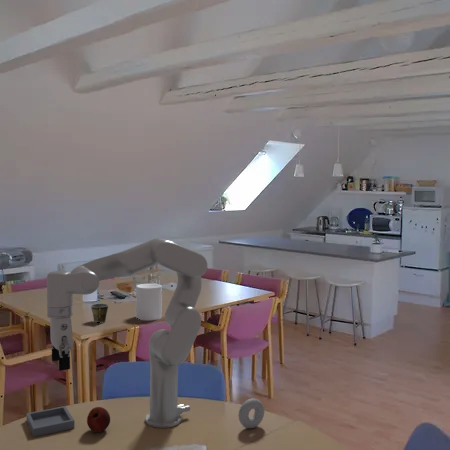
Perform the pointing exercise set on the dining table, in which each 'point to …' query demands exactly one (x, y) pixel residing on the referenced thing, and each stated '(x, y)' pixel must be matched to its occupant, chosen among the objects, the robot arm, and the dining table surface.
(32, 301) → the dining table surface
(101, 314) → the ceramic cup
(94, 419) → the apple
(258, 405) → the donut
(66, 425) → the tray
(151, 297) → the canister
